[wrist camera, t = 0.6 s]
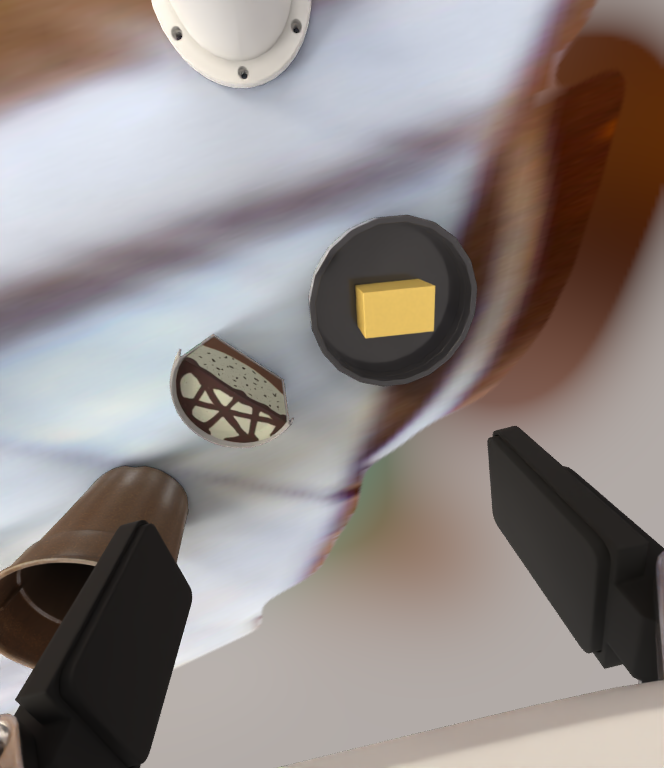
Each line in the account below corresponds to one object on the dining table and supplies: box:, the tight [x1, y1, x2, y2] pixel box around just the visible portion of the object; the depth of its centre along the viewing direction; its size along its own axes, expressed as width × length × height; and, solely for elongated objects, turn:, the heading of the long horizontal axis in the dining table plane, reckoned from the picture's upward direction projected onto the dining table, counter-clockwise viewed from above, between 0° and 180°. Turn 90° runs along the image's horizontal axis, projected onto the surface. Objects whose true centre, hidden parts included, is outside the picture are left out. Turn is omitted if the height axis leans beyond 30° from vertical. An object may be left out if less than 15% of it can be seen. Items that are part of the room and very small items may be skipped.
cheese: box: [355, 279, 435, 338], centre depth 38 cm, size 4×7×5 cm, turn 95°
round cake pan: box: [308, 215, 477, 386], centre depth 39 cm, size 17×17×4 cm
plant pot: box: [0, 466, 188, 669], centre depth 41 cm, size 16×16×16 cm
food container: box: [170, 334, 294, 448], centre depth 38 cm, size 12×6×10 cm, turn 52°
